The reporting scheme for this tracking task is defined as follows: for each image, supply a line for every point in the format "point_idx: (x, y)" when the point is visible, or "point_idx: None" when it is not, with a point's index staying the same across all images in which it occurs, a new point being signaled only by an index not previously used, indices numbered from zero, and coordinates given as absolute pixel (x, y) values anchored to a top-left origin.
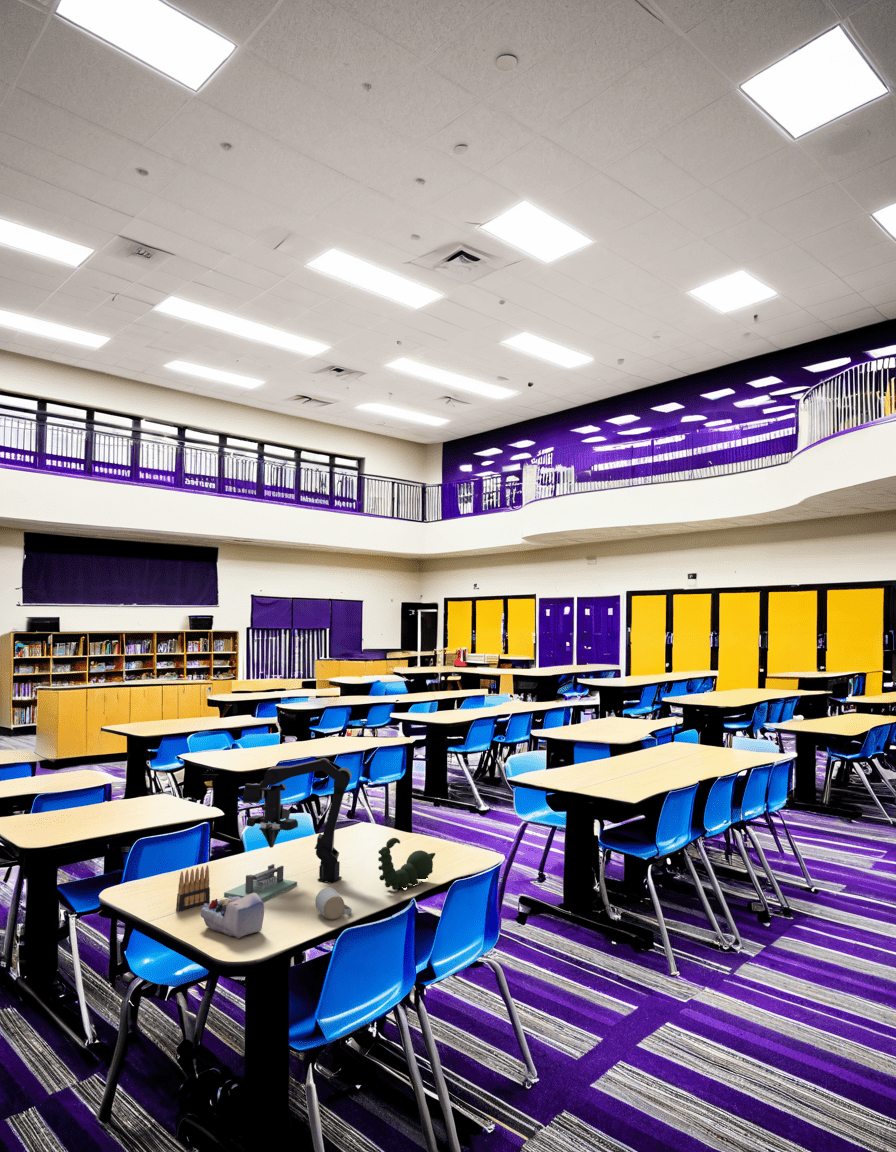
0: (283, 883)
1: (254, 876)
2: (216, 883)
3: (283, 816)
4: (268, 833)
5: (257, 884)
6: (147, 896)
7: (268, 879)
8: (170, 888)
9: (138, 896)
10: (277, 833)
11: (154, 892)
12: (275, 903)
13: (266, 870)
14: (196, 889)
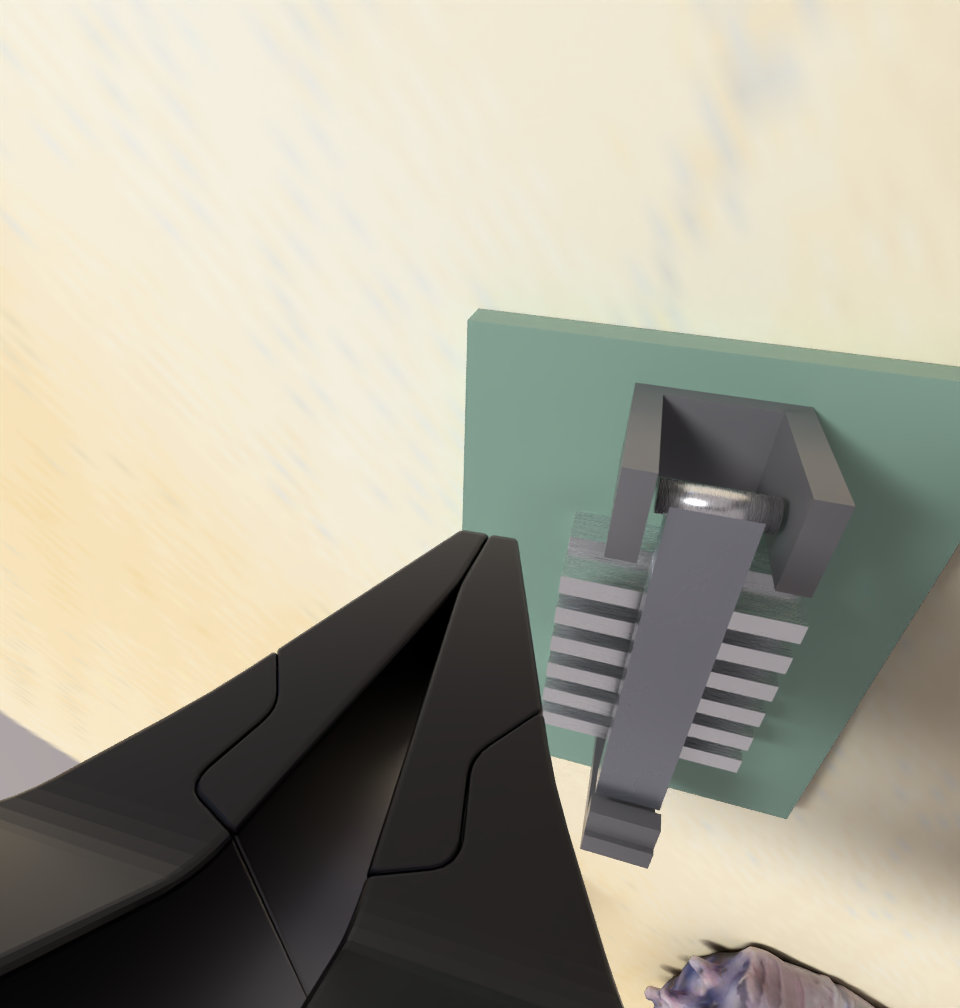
0: (860, 498)
1: (656, 837)
2: (221, 517)
3: None
4: (298, 988)
5: None
6: (140, 728)
7: (755, 715)
8: (105, 634)
9: (113, 729)
10: (562, 924)
11: (109, 687)
12: (919, 798)
13: (643, 624)
14: None
